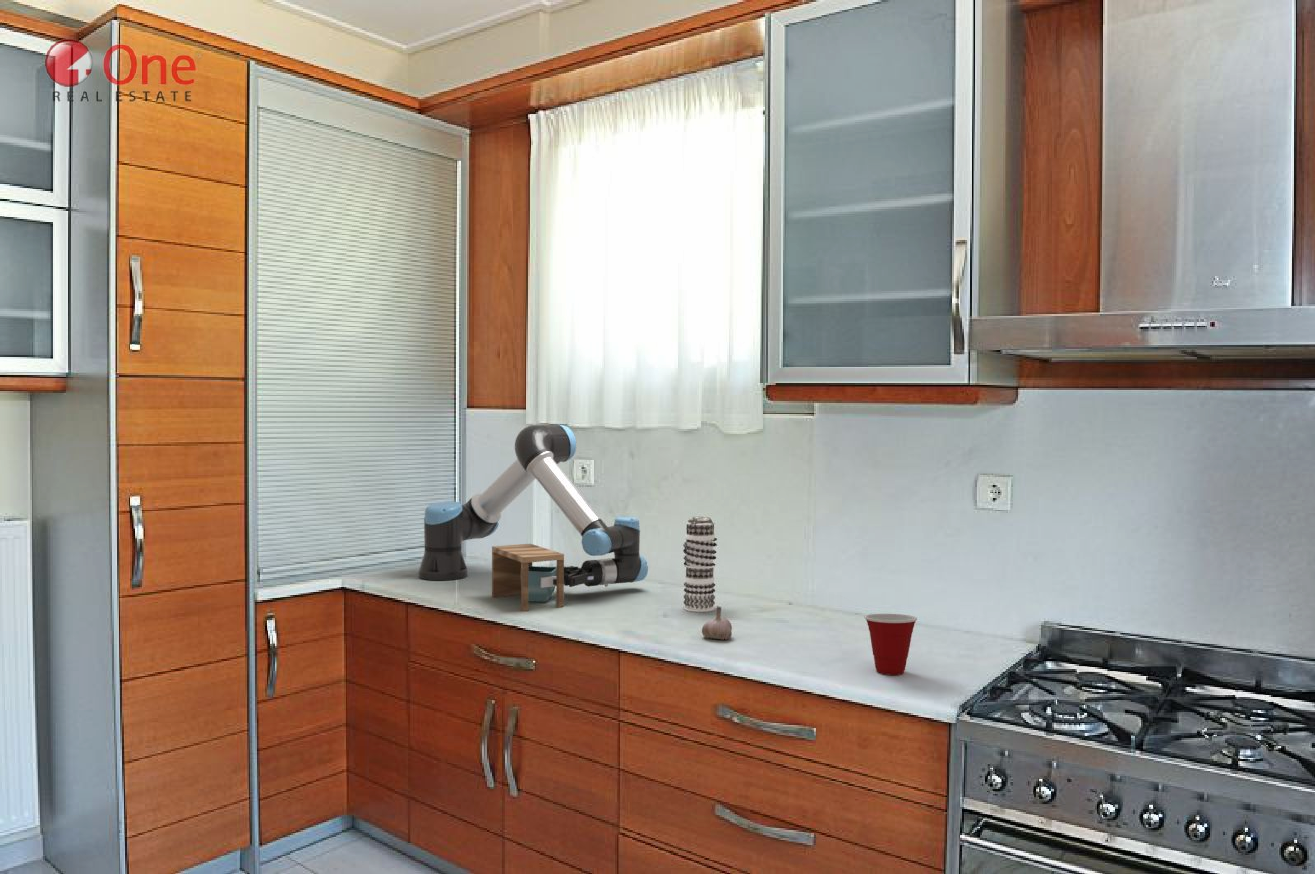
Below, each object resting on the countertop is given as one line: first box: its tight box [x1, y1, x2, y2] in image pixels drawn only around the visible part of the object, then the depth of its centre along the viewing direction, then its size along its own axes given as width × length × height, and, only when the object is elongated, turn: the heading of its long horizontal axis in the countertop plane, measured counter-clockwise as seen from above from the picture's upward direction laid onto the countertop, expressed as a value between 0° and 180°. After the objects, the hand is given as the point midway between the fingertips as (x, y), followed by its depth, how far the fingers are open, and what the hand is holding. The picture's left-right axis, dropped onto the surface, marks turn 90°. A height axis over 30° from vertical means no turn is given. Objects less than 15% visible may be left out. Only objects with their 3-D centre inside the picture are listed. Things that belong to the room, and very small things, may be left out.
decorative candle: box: [682, 516, 718, 613], centre depth 266 cm, size 9×9×25 cm
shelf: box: [491, 543, 565, 612], centre depth 273 cm, size 22×12×14 cm, turn 31°
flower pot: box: [528, 565, 557, 603], centre depth 276 cm, size 9×9×9 cm
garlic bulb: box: [701, 605, 733, 641], centre depth 233 cm, size 8×7×8 cm
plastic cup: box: [864, 613, 918, 676], centre depth 205 cm, size 11×11×12 cm
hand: (530, 578), depth 274 cm, fingers open, 13 cm apart
